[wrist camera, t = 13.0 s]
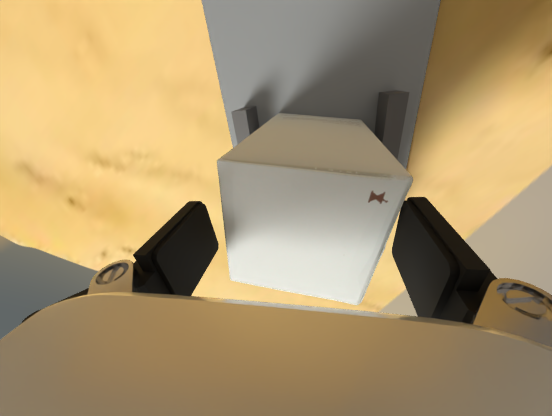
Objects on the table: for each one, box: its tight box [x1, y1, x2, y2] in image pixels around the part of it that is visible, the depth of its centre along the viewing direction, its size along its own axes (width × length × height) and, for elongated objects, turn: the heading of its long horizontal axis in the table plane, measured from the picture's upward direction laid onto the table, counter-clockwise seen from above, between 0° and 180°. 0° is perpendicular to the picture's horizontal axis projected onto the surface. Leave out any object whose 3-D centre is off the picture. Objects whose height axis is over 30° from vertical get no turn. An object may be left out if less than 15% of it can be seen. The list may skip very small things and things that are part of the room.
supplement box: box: [217, 113, 413, 305], centre depth 15 cm, size 7×7×13 cm
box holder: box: [202, 0, 441, 169], centre depth 17 cm, size 19×16×4 cm
